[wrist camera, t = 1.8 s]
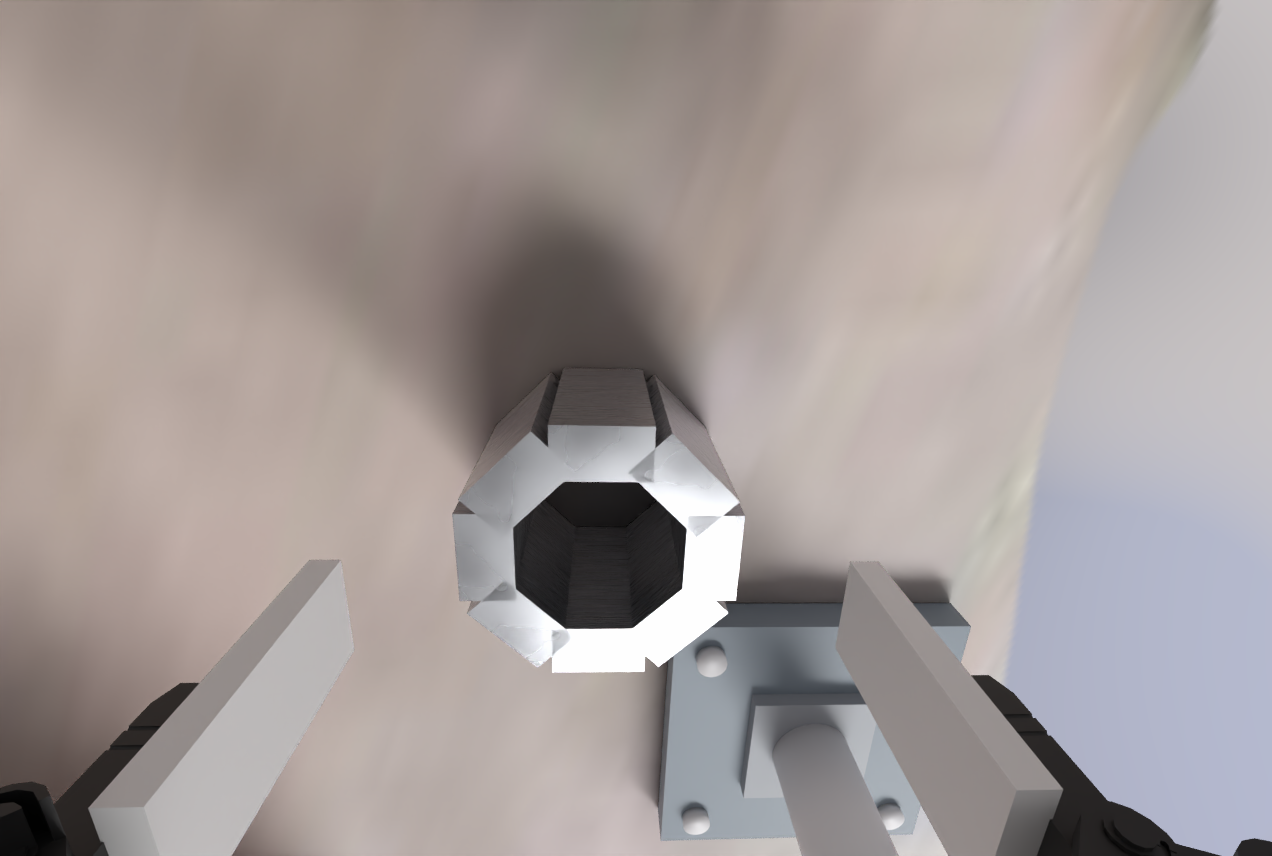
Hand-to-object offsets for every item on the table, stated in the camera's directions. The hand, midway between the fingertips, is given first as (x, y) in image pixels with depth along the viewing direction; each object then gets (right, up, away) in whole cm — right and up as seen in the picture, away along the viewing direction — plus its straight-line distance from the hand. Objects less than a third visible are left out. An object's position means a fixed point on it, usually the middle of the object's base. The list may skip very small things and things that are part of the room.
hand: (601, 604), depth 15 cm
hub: (0, +3, +7) cm, 8 cm away
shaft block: (+8, -8, +11) cm, 16 cm away
